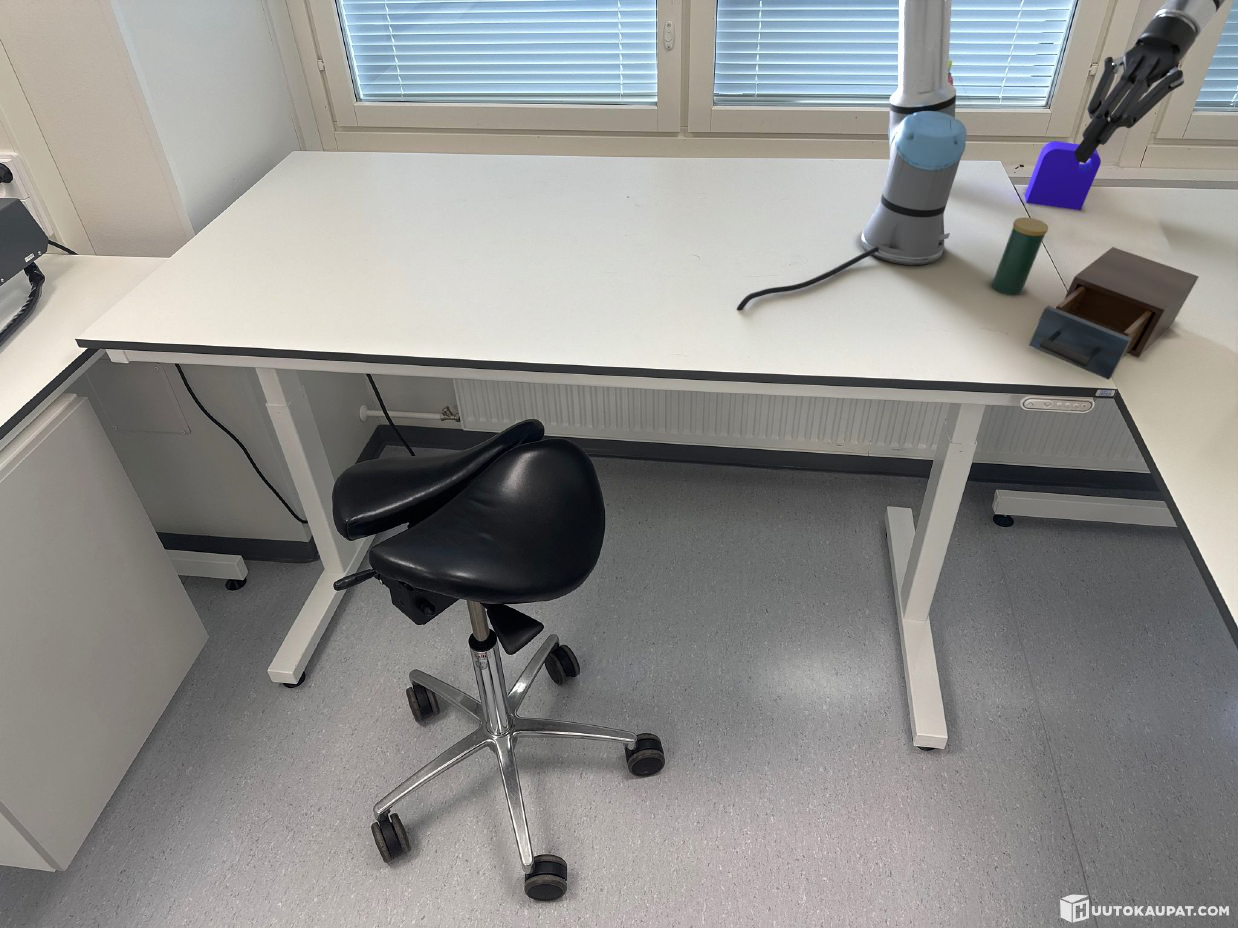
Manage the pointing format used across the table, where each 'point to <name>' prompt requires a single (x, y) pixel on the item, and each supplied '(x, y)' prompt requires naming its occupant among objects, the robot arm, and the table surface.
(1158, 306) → the cabinet
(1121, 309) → the drawer
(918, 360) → the table surface
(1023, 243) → the tea tin
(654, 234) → the table surface
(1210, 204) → the table surface
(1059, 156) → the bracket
